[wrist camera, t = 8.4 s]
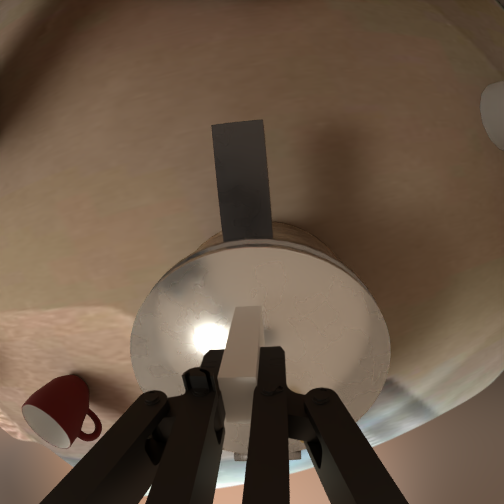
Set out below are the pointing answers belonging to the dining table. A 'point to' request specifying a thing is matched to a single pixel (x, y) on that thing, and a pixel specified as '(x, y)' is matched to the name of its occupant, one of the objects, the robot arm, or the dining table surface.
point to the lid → (265, 326)
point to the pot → (250, 197)
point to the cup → (493, 112)
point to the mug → (61, 411)
